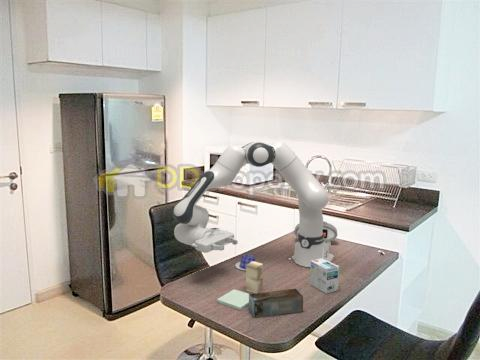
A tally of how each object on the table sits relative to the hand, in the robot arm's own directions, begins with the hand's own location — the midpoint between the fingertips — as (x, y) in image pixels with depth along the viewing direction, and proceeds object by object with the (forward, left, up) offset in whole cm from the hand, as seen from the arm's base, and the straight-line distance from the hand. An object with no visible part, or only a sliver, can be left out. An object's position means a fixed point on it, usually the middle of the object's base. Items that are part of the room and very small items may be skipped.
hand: (230, 245), depth 169 cm
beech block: (0, +12, -16) cm, 21 cm away
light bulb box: (-19, +34, -17) cm, 43 cm away
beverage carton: (+9, +28, -17) cm, 34 cm away
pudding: (-19, -4, -17) cm, 26 cm away
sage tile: (+12, +12, -16) cm, 24 cm away
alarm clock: (-69, +7, -17) cm, 71 cm away
